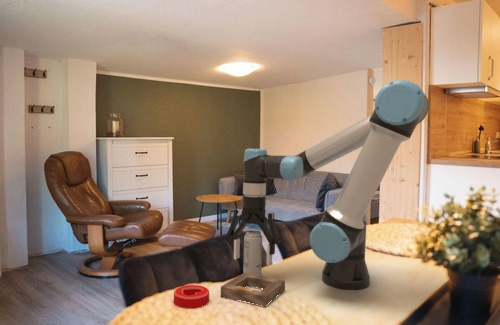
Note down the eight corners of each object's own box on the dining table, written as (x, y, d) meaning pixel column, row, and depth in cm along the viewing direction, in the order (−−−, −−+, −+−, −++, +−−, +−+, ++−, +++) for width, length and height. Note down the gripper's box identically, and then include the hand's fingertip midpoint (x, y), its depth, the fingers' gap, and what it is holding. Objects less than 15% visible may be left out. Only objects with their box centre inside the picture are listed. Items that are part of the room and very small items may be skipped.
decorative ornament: (180, 294, 110) (181, 283, 110) (212, 297, 109) (213, 286, 109) (168, 307, 101) (168, 295, 101) (203, 311, 99) (203, 299, 99)
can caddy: (284, 290, 114) (285, 279, 114) (265, 307, 102) (265, 295, 102) (243, 282, 121) (243, 271, 120) (220, 297, 108) (220, 285, 108)
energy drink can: (261, 280, 123) (262, 234, 122) (242, 279, 123) (243, 233, 122) (261, 274, 129) (262, 230, 128) (243, 273, 129) (244, 229, 128)
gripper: (292, 197, 123) (290, 264, 124) (228, 191, 134) (227, 253, 135) (283, 199, 116) (281, 270, 117) (217, 193, 127) (216, 258, 128)
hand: (252, 261), depth 126 cm, fingers open, 11 cm apart
